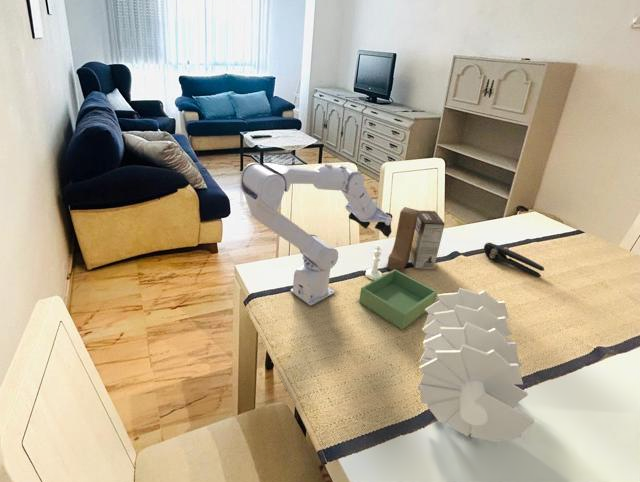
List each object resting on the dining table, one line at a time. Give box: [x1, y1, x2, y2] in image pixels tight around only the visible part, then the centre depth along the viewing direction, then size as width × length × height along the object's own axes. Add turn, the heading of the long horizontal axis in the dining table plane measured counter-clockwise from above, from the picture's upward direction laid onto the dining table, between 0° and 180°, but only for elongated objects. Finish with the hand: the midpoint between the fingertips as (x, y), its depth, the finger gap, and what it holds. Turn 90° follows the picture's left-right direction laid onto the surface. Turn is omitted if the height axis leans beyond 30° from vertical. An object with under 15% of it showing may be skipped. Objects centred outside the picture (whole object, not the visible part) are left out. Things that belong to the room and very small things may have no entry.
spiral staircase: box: [416, 287, 536, 443], centre depth 74 cm, size 18×18×25 cm
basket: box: [358, 269, 438, 330], centre depth 102 cm, size 15×13×4 cm
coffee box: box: [409, 209, 446, 270], centre depth 120 cm, size 9×6×16 cm
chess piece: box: [365, 245, 383, 281], centre depth 113 cm, size 5×5×10 cm
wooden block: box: [386, 206, 420, 273], centre depth 117 cm, size 9×4×18 cm, turn 148°
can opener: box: [483, 242, 545, 278], centre depth 123 cm, size 18×7×6 cm, turn 42°
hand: (377, 229), depth 111 cm, fingers open, 7 cm apart
